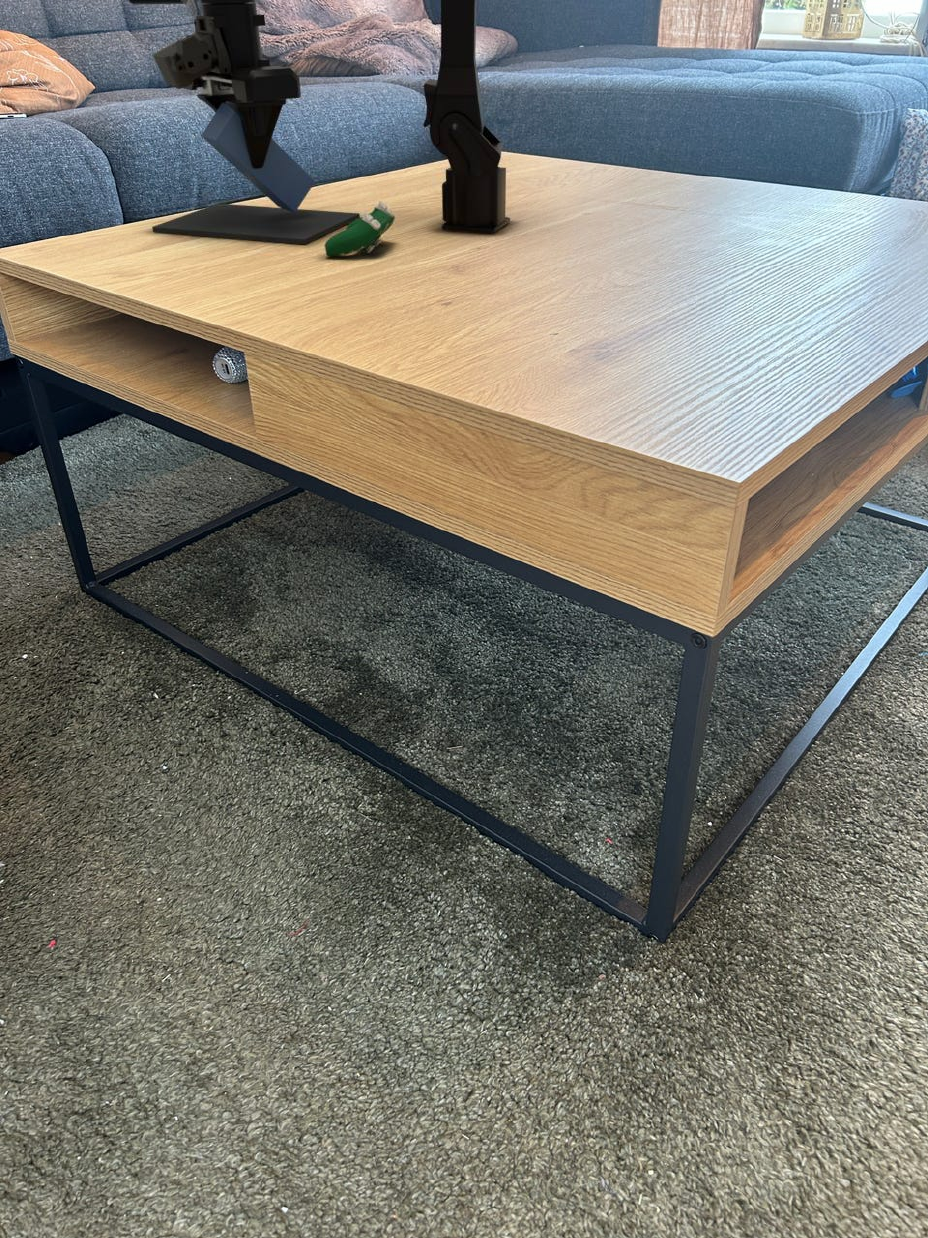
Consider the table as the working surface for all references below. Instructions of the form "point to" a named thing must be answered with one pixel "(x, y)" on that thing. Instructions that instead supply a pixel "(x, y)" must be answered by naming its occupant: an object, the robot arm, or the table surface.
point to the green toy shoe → (361, 233)
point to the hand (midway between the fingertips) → (249, 165)
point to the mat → (258, 223)
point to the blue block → (279, 170)
